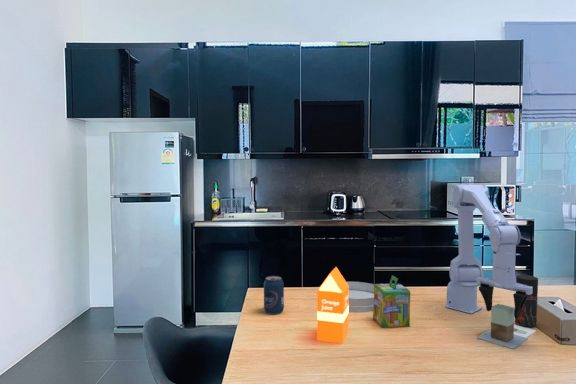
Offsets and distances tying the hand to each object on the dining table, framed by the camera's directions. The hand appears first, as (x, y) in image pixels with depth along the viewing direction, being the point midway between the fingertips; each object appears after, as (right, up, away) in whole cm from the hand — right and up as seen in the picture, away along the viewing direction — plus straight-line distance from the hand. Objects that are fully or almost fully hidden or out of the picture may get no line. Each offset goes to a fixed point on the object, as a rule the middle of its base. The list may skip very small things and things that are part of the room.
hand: (502, 313), depth 118 cm
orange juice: (-49, -8, +3) cm, 49 cm away
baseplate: (0, -7, 0) cm, 7 cm away
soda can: (-67, -7, +24) cm, 72 cm away
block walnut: (0, -7, 0) cm, 7 cm away
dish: (-37, -6, +34) cm, 51 cm away
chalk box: (-29, -7, +14) cm, 33 cm away
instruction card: (+7, -7, +6) cm, 12 cm away
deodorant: (+13, -7, +11) cm, 19 cm away
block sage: (0, -3, 0) cm, 3 cm away
